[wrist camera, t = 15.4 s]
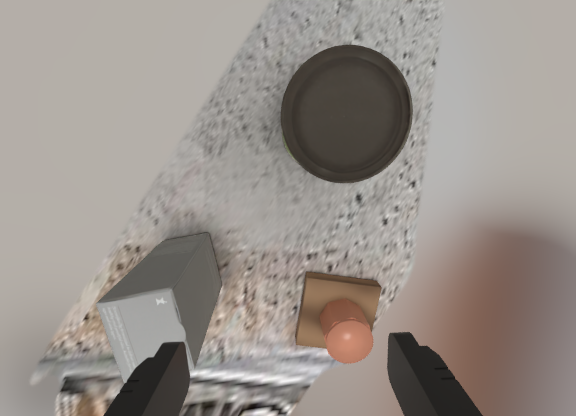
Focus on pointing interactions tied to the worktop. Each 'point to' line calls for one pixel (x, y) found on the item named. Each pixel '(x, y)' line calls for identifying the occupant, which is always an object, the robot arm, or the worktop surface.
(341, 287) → the peg block
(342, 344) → the cap
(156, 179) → the worktop surface
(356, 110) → the coffee can
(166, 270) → the skincare box
